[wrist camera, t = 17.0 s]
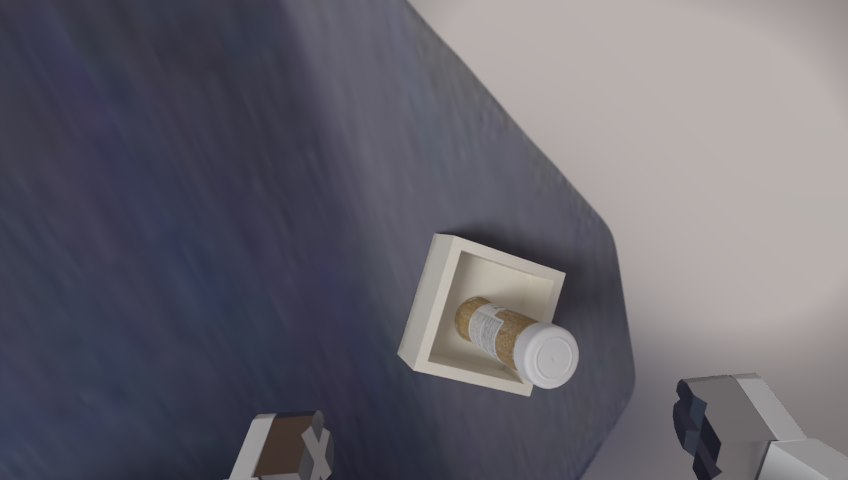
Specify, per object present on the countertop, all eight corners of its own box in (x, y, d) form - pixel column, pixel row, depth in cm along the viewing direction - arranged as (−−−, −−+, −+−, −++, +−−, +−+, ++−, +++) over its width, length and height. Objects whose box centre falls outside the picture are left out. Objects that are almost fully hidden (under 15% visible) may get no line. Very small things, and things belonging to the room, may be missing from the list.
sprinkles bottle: (501, 304, 47) (589, 337, 34) (485, 347, 47) (569, 397, 34) (462, 289, 46) (539, 319, 33) (445, 334, 45) (517, 381, 33)
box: (503, 378, 49) (529, 396, 44) (397, 353, 45) (413, 370, 40) (536, 267, 49) (565, 273, 45) (434, 233, 46) (454, 235, 41)
